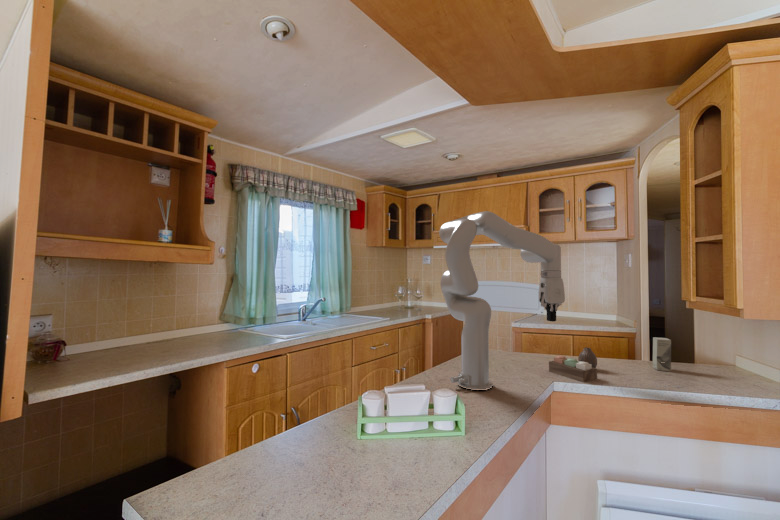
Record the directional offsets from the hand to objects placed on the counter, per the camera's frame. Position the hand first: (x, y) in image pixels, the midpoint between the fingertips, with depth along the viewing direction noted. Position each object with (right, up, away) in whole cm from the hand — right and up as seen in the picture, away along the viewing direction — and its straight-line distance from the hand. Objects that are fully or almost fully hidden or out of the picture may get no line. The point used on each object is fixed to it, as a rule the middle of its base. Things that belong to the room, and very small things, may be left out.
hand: (551, 320), depth 143 cm
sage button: (+7, -18, -2) cm, 19 cm away
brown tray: (+7, -21, -2) cm, 22 cm away
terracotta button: (+5, -18, +2) cm, 19 cm away
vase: (+18, -21, +6) cm, 28 cm away
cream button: (+9, -18, -7) cm, 21 cm away
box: (+48, -21, +5) cm, 53 cm away
